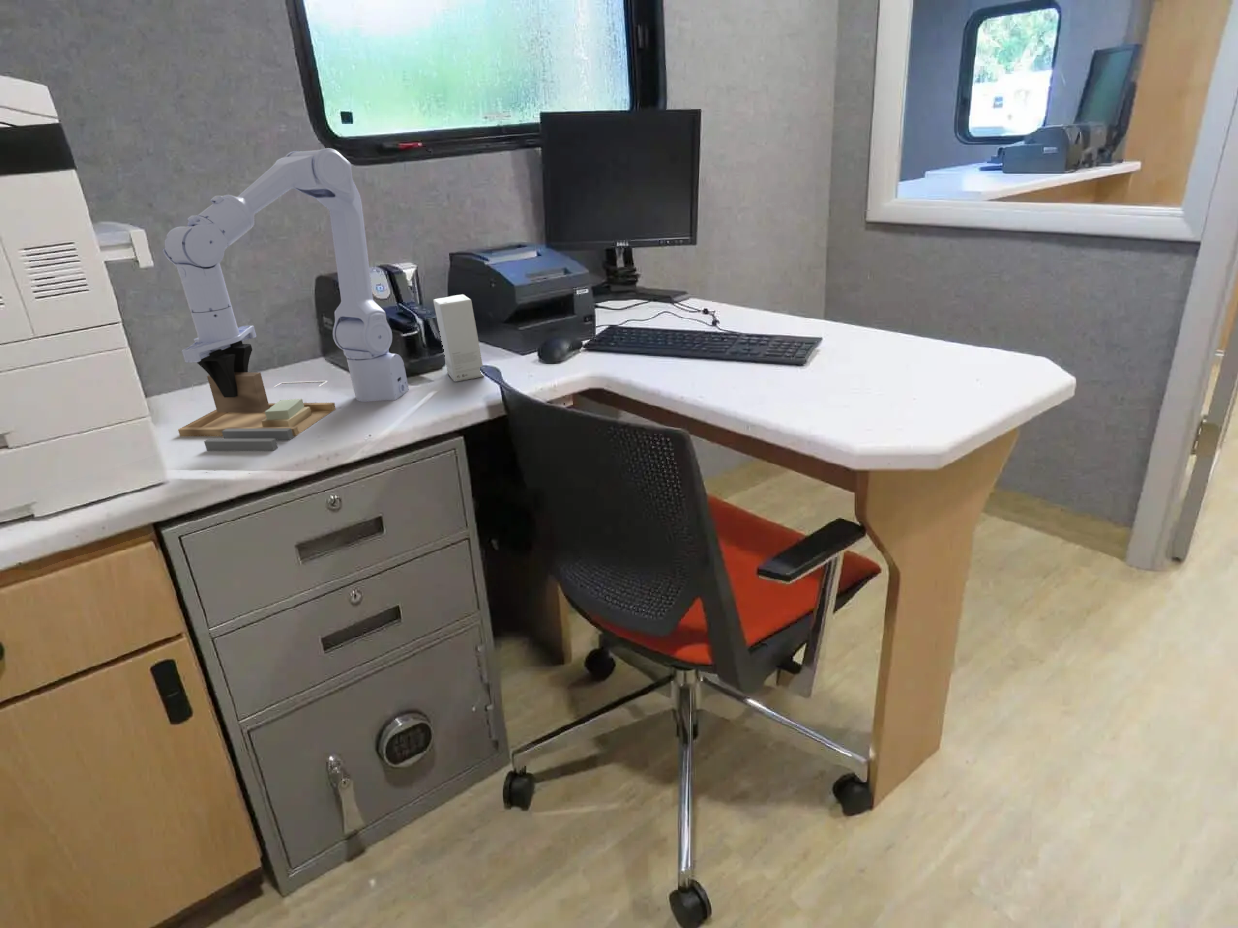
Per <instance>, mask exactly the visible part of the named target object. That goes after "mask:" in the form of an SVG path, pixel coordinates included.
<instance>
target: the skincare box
mask: <svg viewBox="0 0 1238 928" xmlns="http://www.w3.org/2000/svg"><path fill="white" fill-rule="evenodd" d="M432 300H433V301H432V302H433V307H434V311H435V316H436V322H437V327H438V330H439V331H440V332H439V336H441V337H440V341H442V342H441V346H442V345H443V347H442V350H443V349H444V352H443V356H444V355H445V357H444V361H445V366H446V371H447V374H448V376H450V378H451V379H452V380H453V382H462V381H466V380H467V381H468V380H473V379H476V378H477V379H478V378H482V377H484V376H483V375H482V374H481V372H480V367H481V366H483V367H484V365H483V359H482V355H481V348H480V347H481V346H480V343H479V342H480V341H479V337H478V330H477V326H476V320H475V313H474V309H473V303H472V299H471V298H469V297H468V296H466V295H465V294H463V293H462V294H456V295H455V294H454V295H450V296H446V297H438V298H435V299H432Z"/></svg>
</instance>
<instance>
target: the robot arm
mask: <svg viewBox="0 0 1238 928" xmlns="http://www.w3.org/2000/svg"><path fill="white" fill-rule="evenodd" d="M293 189H294V190H295V191H298V192H300V193H301V194H304V195H306V196H309V197H311V198H314V199H315V200H316V201H318V203H320V204H322V205H323V207H324V208H327V210H328V212H329V218H330V220H329V221H330V226H331V227H330V228H331V233H332V235H331V236H332V243H333V248H334V249H333V250H334V257H335V264H336V272H337V280H338V286H339V293H340V303H339V305H338V306H337V307H336V309H335V310H334V325H333V328H332V339H333V341H334V343H335V345H336V346H337V347H338V348H339V349H341V350H342V353H343V356H345V357H346V362H347V366H348V370H349V375H350V376H349V377H350V379H351V384H352V389H353V392H354V393H353V394H354V396H355V400H356V401H359V402H363V403H365V402H375V401H376V402H377V401H397V400H398V399H399V398H400V397H402V396H403V395H404V394H406V393H407V392H408V391H410V388H409V384H408V383H409V382H408V378H407V373H406V368H405V363H404V359H403V358H402V356H401V355H400V354H397V353H391V352H390V351H389V349H390V347H391V345H392V342H393V333H392V329H391V327H390V325H389V323H388V319H387V314H386V311H385V310H384V308H382V307H381V306H380V305H379V304H378V303H377V302H376V301H375V300H374V295H373V287H372V286H373V285H372V277H371V269H370V262H369V255H368V254H369V251H368V245H367V236H366V235H367V234H366V229H365V220H364V219H365V217H364V212H363V202H362V197H361V194H360V192H359V190H358V187H357V186H356V183H355V181H354V179H353V171H352V163H351V162H350V161H349V160H347V158H346V157H344V156H343V155H342V153H340V152H339V151H338V150H336V149H334V148H331V147H330V148H329V147H328V148H327V147H326V148H322V149H314V150H305V151H304V150H303V151H300V150H293V151H290V152H288V153H286V154H285V156H283V157H281V158H278V159H276V161H274V163H273V165H272V166H270V168H268V169H267V170H266V171H264V173H263V174H261V175H260V176H259V177H258V178H257V179H255V180H254V181H253V182H252V183H251V184H250V185H249V186H248V187H246V188H245V190H244V189H243V191H242V192H241V193H239V194H238V195H237V196H235V195H232V194H224V195H214V196H213V197H212V198H211V199H210V200H209V201H210V202H211V205H209V206H208V207H207V208H205V209H203V210H202V211H201V212H199V214H197V215H196V214H194V215H193V214H191V215H190V216H189V217H187V221H188V222H187V226H182V225H181V226H177V227H176V226H175V227H173V228H171V229H170V230H169V231H168V233H167V234H166V236H165V237H166V238H165V239H164V248H162V253H163V255H164V256H165V258H166V259H167V260H168V261H169V262H170V263H171V264H173V265H174V267H175V268H176V270H177V273H178V274H177V275H178V276H179V278H180V283H181V286H182V289H183V293H184V296H185V298H186V301H187V305H188V309H189V312H190V315H191V318H192V322H193V324H194V328H195V331H196V334H197V337H195V338H193V341H194V343H192V344H191V345H189V346H188V347H186V348H183V349H181V353H182V356H183V360H184V363H186V364H189V363H190V364H192V363H196V364H197V365H199V366H200V367H201V368H202V369H203V370H204V371H205V372H206V373H207V374H208V376H209V375H210V376H211V378H212V379H213V380H214V382H215V383H216V385H217V387H218V388H219V390H220V391H221V393H222V395H223V396H224V397H237V396H238V391H237V384H236V380H235V374H234V372H249V371H248V370H249V364H250V363H249V362H250V357H251V355H252V352H253V348H252V344H250V343H243V342H245V341H248V340H249V339H252V340H253V339H255V338H257V333H256V330H255V329H256V328H255V326H254V325H242V326H239V327H238V324H237V319H236V317H235V314H234V309H233V305H232V303H231V298H230V295H229V292H228V288H227V284H226V281H225V276H224V274H223V269H222V266H221V263H222V261H223V259H224V257H225V252H226V251H225V250H227V249H228V248H229V247H231V245H233V244H234V243H235V242H237V241H238V240H239V239H240V238H241V237H242V236H244V235H245V234H247V233H248V232H249V231H250V230H251V229H252V228H253V227H254V226H255V221H256V220H255V215H257V214H258V213H259V212H261V211H262V210H263V209H264V208H266V207H268V206H269V205H270V204H272V203H273V202H275V201H276V200H277V199H279V198H280V197H282V196H283V195H285V194H286V193H287V192H289V191H290V190H293Z"/></svg>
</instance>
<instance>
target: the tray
mask: <svg viewBox="0 0 1238 928" xmlns="http://www.w3.org/2000/svg"><path fill="white" fill-rule="evenodd" d="M276 403H277V402H273V403H272V402H271V403H269V402H268V404H269V408H270V407H272V406H273V405H274V404H276ZM303 404H304V407H310V409H311V413H312V415H311V416H309V417H308V418H306V419H305V420H303V421H302V422H300V423H299V424H297V425H295V426H294V427H263V426H262V422H261V421H262V420H264V419H266V415H265V412H263V413H234V412H217V410H216V409H214V410H212V411H210V412H209V413H207V414H205V415H203V416H202V417H199V418H197V419H196V420H194V421H191V422H190V423H187V424H186V425H184V426H182V427H180V428H178V430H177V432H178V434H179V437H223V434H222V431H223V430H225V429H258V428H291V430H292V434H293V437H297V436H298V435H300V434H301V433H302V432H304V431H305V430H307V429H308V428H310V427H312V426H313V425H314V424H316V423H317V422H319V421H321V420H322V419H323V418H325V417H326V416H328V415H329V414H331V413H332V412H334V411H335V410H336V409H337V408H336V404H335V402H303Z"/></svg>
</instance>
